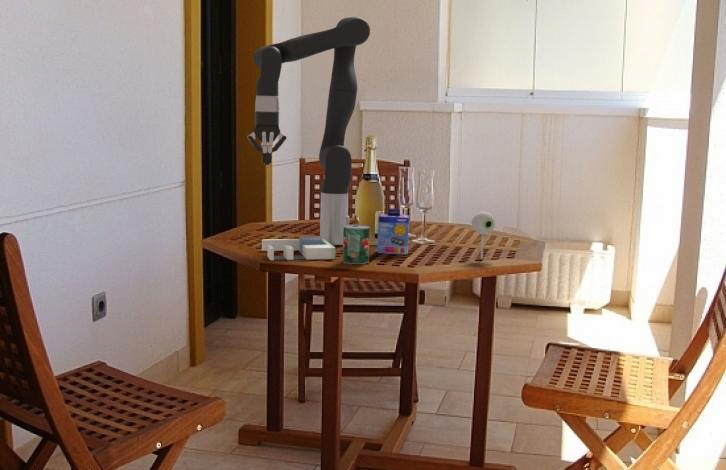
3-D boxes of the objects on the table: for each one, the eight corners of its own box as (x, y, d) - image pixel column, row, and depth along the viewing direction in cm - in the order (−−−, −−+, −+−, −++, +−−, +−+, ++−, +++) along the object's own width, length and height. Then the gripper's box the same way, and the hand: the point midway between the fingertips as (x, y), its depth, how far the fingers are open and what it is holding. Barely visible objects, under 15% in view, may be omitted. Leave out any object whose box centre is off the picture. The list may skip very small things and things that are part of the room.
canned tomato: (372, 264, 276) (373, 227, 274) (346, 265, 273) (347, 228, 272) (364, 259, 283) (365, 224, 281) (339, 260, 281) (340, 224, 279)
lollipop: (477, 261, 285) (479, 213, 283) (465, 257, 291) (468, 210, 289) (497, 260, 288) (499, 212, 285) (485, 256, 294) (487, 209, 292)
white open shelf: (323, 249, 299) (323, 238, 299) (335, 258, 283) (335, 247, 282) (261, 250, 294) (262, 239, 294) (270, 260, 278) (270, 248, 277)
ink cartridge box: (376, 253, 294) (378, 208, 292) (377, 250, 300) (378, 206, 297) (407, 254, 294) (409, 209, 291) (407, 251, 299) (409, 207, 297)
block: (317, 251, 295) (318, 236, 294) (321, 255, 290) (322, 239, 289) (299, 252, 294) (299, 236, 293) (303, 255, 288) (303, 239, 287)
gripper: (285, 110, 299) (285, 163, 301) (244, 109, 295) (244, 163, 298) (289, 111, 291) (289, 165, 294) (248, 110, 288) (247, 165, 291)
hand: (266, 164), depth 296 cm, fingers closed
